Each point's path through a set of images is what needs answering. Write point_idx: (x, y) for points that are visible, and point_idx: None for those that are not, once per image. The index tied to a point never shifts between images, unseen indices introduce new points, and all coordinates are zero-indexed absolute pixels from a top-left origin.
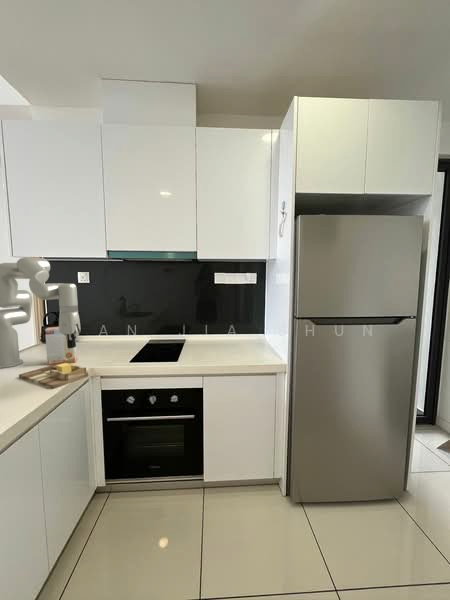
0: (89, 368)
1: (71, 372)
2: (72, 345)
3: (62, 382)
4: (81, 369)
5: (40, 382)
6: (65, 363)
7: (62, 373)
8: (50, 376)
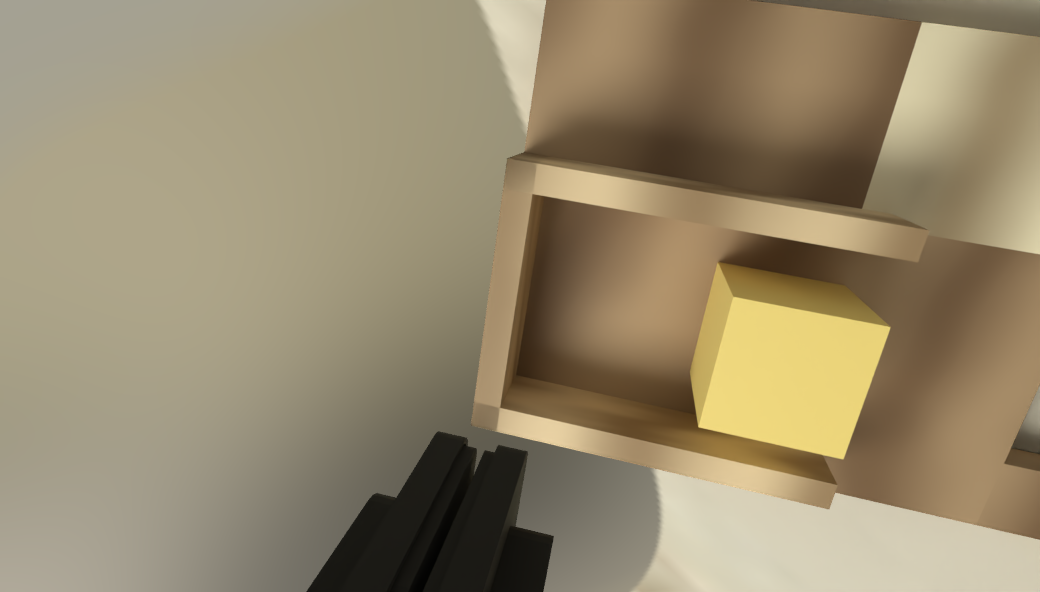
0: (677, 583)
1: (502, 238)
2: (370, 514)
3: (533, 100)
4: (479, 366)
5: (853, 16)
6: (815, 435)
7: (593, 173)
8: (871, 199)
